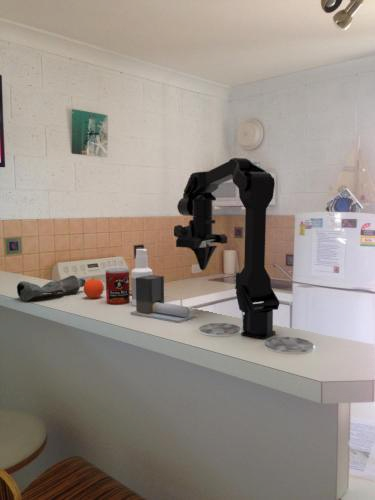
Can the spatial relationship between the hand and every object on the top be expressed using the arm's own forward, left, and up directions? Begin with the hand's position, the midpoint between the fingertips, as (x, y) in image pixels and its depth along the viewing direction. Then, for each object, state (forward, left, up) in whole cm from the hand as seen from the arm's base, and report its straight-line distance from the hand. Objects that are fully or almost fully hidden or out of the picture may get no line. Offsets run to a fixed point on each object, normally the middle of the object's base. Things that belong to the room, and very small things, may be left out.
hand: (202, 269), depth 136 cm
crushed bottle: (+59, +8, -13) cm, 61 cm away
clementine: (+44, +2, -13) cm, 46 cm away
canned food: (+32, +3, -13) cm, 35 cm away
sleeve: (+13, +9, -13) cm, 20 cm away
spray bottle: (+23, +1, -13) cm, 26 cm away
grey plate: (+8, +9, -13) cm, 18 cm away
